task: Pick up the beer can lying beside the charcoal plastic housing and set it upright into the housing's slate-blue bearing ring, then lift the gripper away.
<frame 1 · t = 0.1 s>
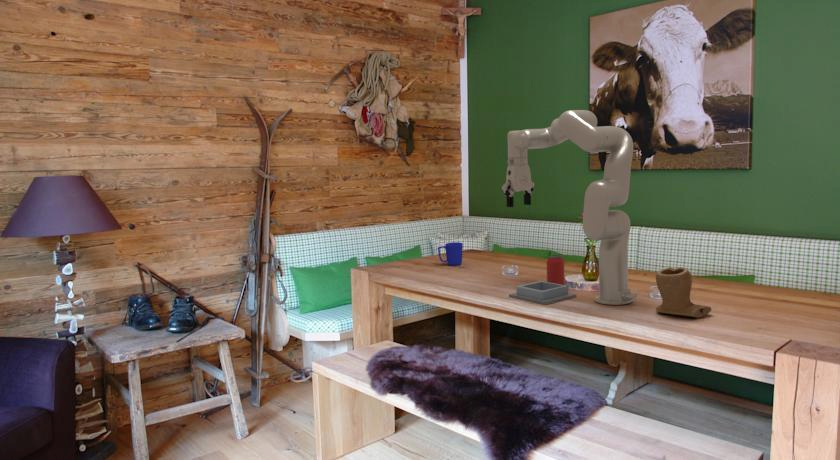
hand: (518, 205, 261), 31 cm above the table, fingers open, 9 cm apart
brown l-shaped piece: (680, 315, 207), on the table
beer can: (555, 287, 255), on the table
housing: (542, 297, 239), on the table
mug: (450, 265, 311), on the table
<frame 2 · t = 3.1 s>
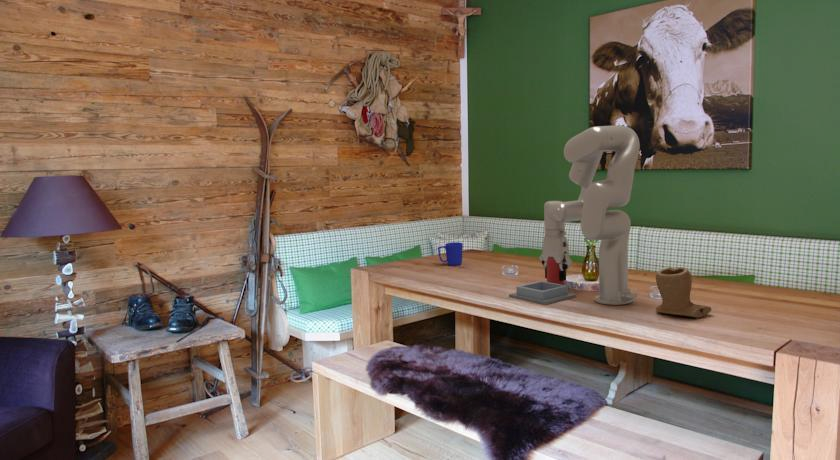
hand: (555, 278, 255), 3 cm above the table, fingers closed on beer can, 6 cm apart
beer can: (555, 287, 255), on the table, touching gripper
everything else where it was.
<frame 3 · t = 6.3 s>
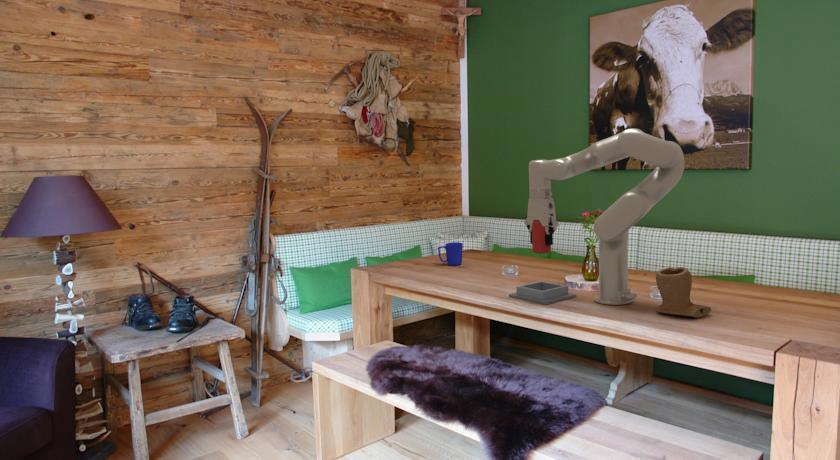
hand: (541, 243, 237), 19 cm above the table, fingers closed on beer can, 6 cm apart
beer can: (541, 253, 237), point 16 cm above the table, touching gripper
everything else where it was.
when the fingers open (5 cm above the table, at t = 9.5 s): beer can drops 1 cm, resting on housing.
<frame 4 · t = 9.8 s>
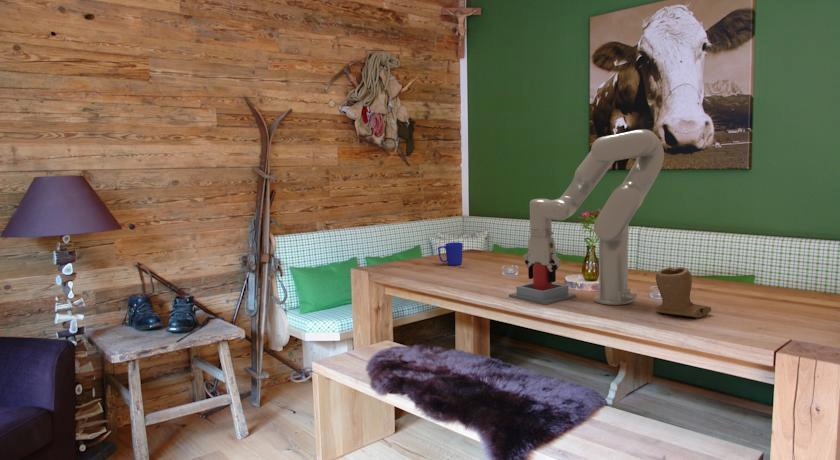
hand: (541, 280, 239), 6 cm above the table, fingers open, 9 cm apart
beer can: (542, 294, 239), point 1 cm above the table, touching housing
everything else where it was.
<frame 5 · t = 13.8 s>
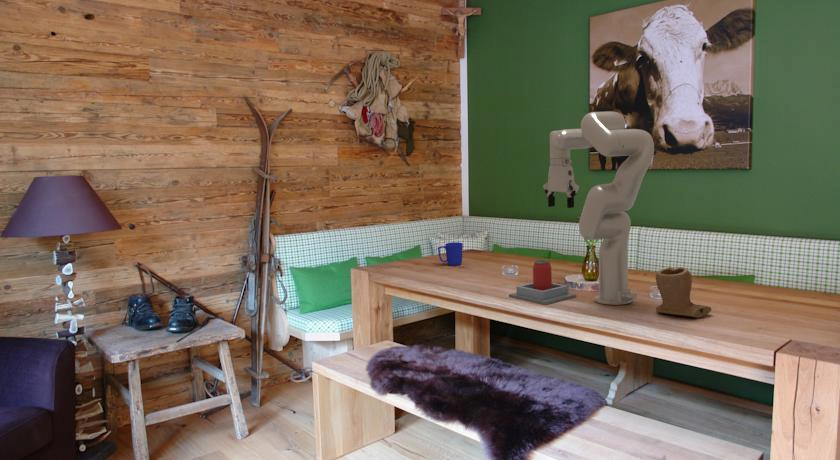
hand: (561, 207, 256), 30 cm above the table, fingers open, 9 cm apart
nothing on the table moved.
at the end: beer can 0.1 cm off-centre on the housing, point 0.8 cm above the housing's base; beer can tilted 0°; the gripper is holding nothing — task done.
